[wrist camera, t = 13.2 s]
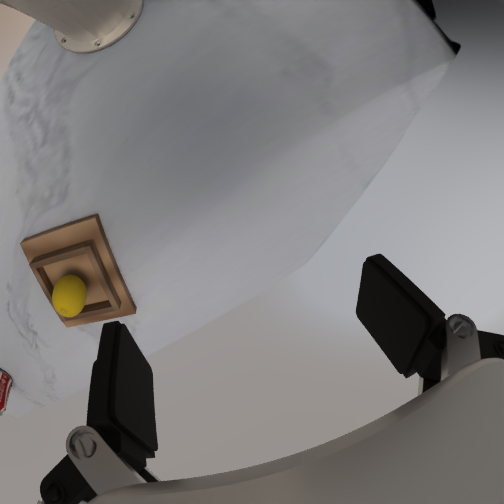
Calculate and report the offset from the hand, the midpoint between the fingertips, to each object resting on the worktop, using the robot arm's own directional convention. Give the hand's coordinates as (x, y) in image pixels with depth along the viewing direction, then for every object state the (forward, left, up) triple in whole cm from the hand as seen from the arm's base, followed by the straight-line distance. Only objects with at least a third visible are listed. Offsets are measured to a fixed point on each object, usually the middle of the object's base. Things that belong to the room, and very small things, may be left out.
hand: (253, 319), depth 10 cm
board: (+13, -23, -30) cm, 40 cm away
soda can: (+36, -66, -31) cm, 81 cm away
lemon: (+13, -23, -29) cm, 39 cm away
